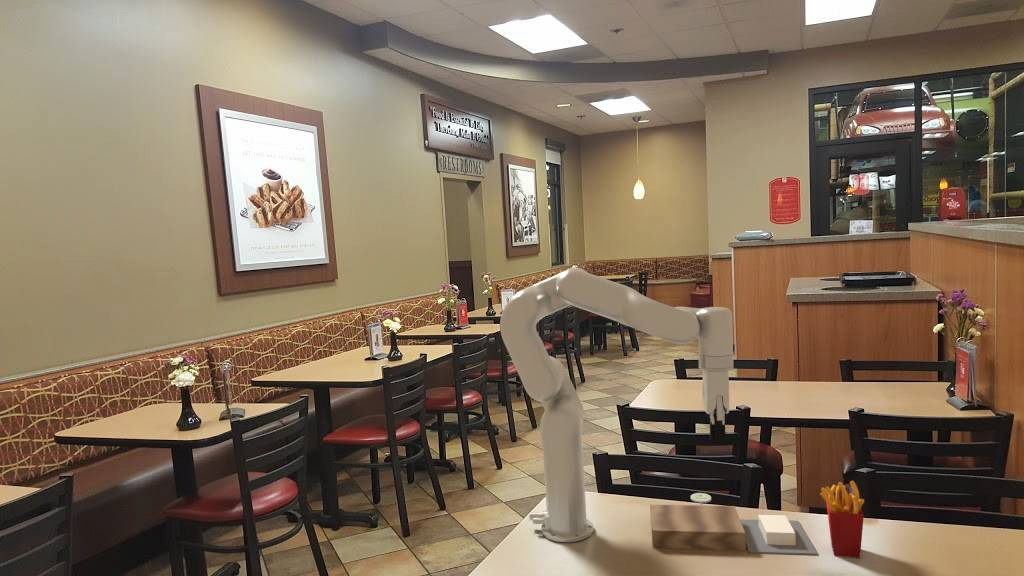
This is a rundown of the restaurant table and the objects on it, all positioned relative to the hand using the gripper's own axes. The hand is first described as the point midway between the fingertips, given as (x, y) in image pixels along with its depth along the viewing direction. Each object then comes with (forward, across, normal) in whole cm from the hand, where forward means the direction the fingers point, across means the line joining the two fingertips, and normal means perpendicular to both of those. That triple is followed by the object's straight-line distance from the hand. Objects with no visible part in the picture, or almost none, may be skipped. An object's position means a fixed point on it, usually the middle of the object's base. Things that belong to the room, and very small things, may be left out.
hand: (717, 440), depth 144 cm
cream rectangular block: (+19, 0, +12) cm, 23 cm away
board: (+23, 0, -6) cm, 23 cm away
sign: (+23, -16, -2) cm, 28 cm away
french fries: (+22, +5, +24) cm, 34 cm away
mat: (+22, 0, +12) cm, 25 cm away
